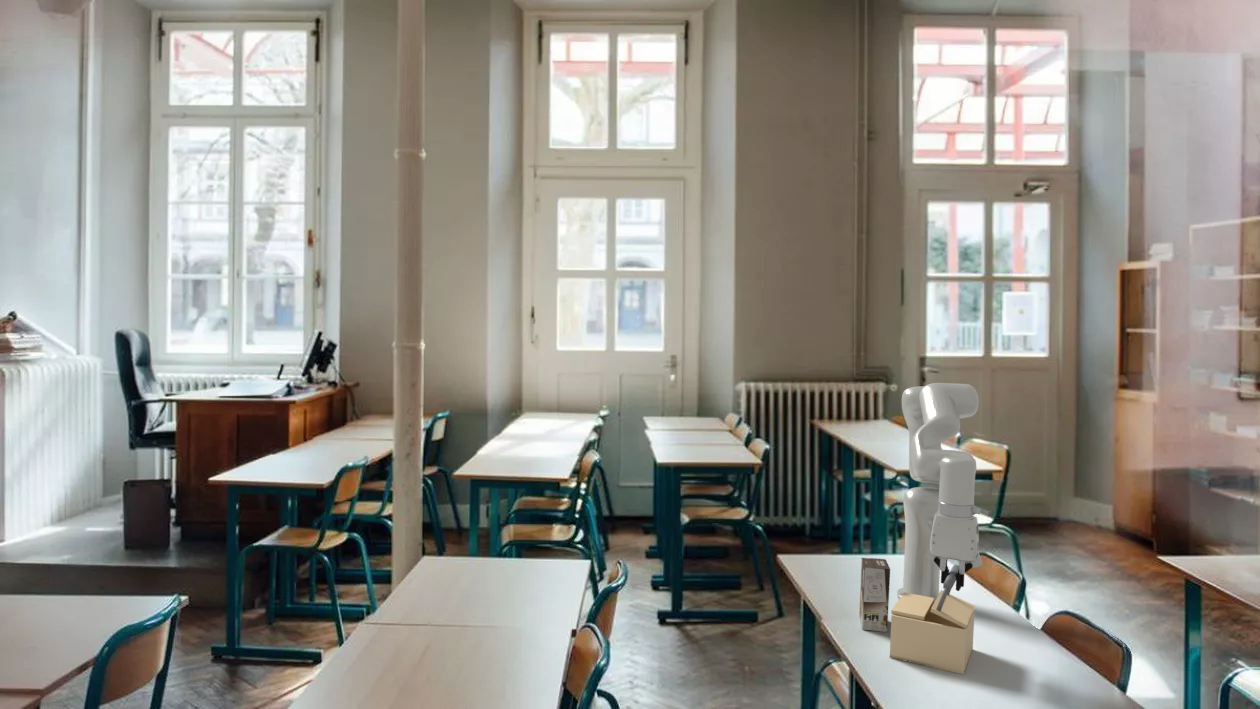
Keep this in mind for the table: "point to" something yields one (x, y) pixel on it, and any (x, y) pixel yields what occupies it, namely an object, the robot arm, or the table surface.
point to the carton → (929, 635)
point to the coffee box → (874, 594)
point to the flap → (952, 603)
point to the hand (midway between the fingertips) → (952, 587)
